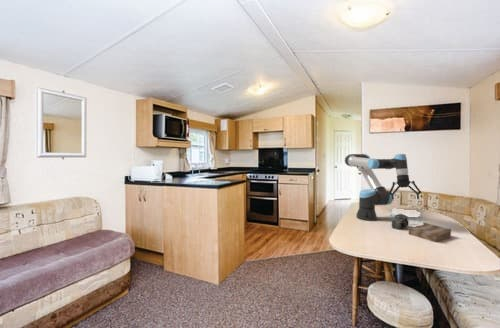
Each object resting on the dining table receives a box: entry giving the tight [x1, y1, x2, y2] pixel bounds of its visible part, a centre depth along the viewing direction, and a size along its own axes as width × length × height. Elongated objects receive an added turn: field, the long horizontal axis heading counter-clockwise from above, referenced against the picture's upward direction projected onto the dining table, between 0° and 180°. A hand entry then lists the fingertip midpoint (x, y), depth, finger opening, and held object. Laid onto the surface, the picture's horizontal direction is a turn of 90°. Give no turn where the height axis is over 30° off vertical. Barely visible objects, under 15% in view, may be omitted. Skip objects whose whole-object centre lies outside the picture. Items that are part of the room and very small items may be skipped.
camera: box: [390, 212, 410, 231], centre depth 179 cm, size 13×10×10 cm
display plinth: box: [408, 222, 452, 243], centre depth 162 cm, size 16×18×6 cm
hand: (405, 204), depth 179 cm, fingers open, 13 cm apart
